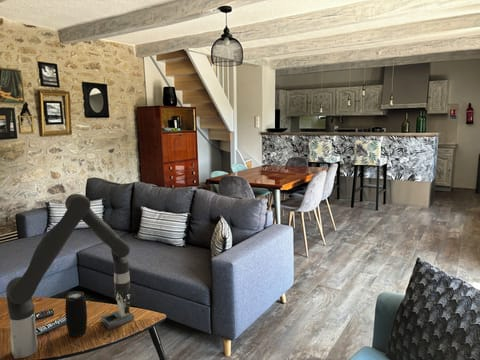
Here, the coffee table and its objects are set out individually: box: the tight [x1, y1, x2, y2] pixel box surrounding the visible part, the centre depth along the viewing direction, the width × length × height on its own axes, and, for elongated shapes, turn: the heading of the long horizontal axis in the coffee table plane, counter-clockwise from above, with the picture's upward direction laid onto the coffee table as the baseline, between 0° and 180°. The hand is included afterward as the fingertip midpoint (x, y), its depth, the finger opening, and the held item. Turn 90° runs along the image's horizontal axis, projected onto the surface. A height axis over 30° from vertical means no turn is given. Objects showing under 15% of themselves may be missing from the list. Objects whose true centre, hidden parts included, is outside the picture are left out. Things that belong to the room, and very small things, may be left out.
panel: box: [100, 310, 135, 330], centre depth 185 cm, size 13×10×3 cm
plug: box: [116, 299, 129, 318], centre depth 187 cm, size 5×4×10 cm
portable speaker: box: [64, 290, 88, 338], centre depth 172 cm, size 9×9×20 cm
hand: (123, 310), depth 187 cm, fingers open, 8 cm apart
